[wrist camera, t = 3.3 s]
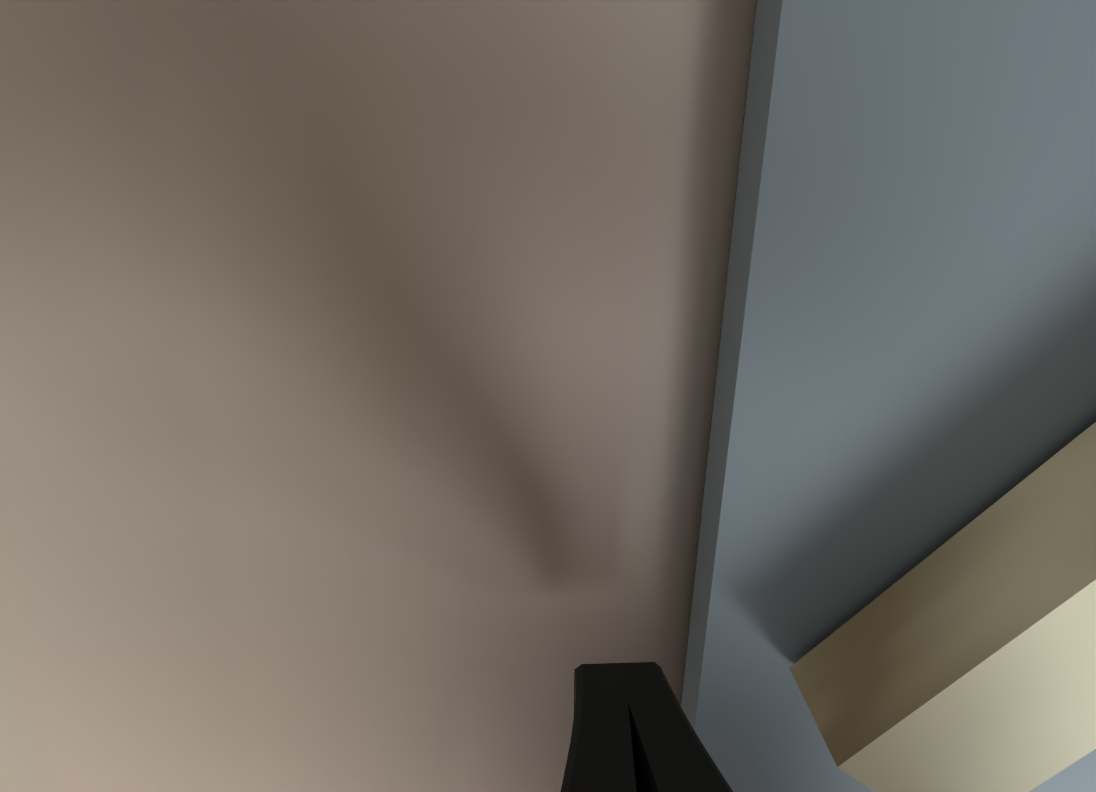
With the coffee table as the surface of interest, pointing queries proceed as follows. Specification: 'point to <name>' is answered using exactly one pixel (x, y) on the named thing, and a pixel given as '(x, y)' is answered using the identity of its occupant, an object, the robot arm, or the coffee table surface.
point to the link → (974, 650)
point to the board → (885, 333)
